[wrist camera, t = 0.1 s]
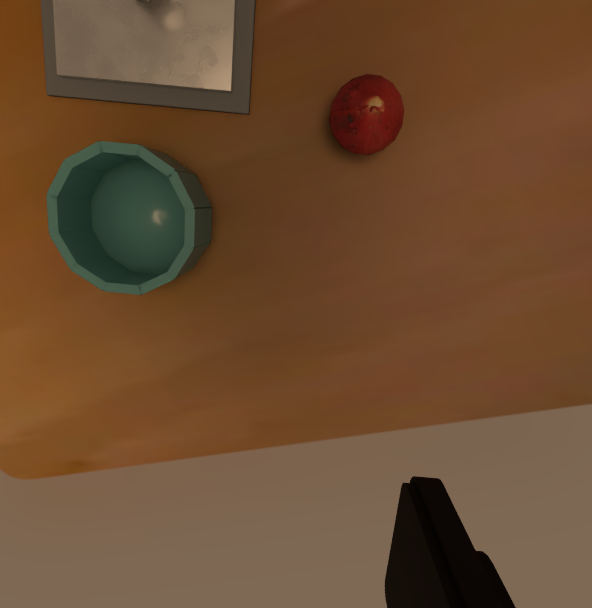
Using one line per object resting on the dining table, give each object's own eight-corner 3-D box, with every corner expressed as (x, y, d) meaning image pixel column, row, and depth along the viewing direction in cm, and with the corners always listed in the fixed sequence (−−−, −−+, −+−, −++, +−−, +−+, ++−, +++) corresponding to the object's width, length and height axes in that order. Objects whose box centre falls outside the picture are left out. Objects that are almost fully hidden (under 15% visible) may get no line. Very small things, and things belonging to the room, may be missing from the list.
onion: (337, 167, 36) (345, 157, 28) (320, 101, 35) (323, 73, 27) (399, 147, 36) (424, 132, 28) (384, 80, 34) (406, 44, 27)
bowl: (84, 146, 36) (42, 135, 30) (214, 158, 36) (196, 150, 30) (89, 273, 39) (52, 286, 34) (209, 285, 39) (192, 299, 33)
